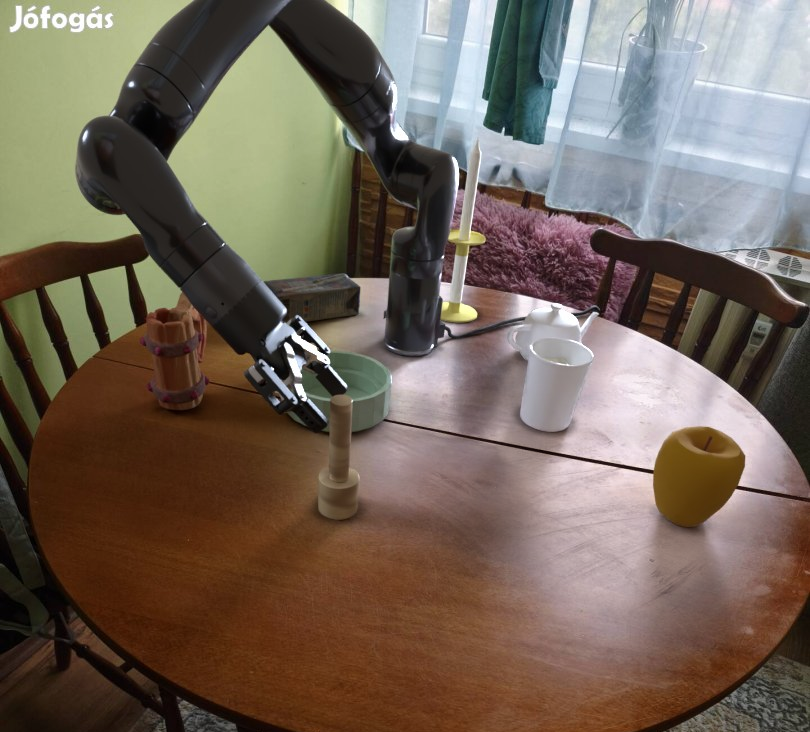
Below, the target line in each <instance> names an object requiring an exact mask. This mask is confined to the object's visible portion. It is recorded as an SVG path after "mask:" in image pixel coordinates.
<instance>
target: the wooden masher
mask: <svg viewBox="0 0 810 732" xmlns="http://www.w3.org/2000/svg"><path fill="white" fill-rule="evenodd" d="M352 402H353V401H352V399H351V398H350V397H349V396H346V395H335V396H333V397H332V398H331V399H330V432H329V439H328V440H329V442H328V443H329V445H328V466H326V467H323V468H322V469H321V470H320V471H319V473H318V476H317V477H318V478H317V480H318V481H317V482H318V483H317V509H318V511H319V513H320V514H321V515H322V516H324V517H325V518H327V519H331V520H337V521H338V520H340V521H342V520H347V519H349V518H352V517H354V516H355V515H356V513H357V511H358V508H359V491H360V490H359V489H360V488H359V487H360V475H359V473H358V472H357V470H355V469H354V468H352V467H350V466H351V445H352V432H351V424H352Z"/></svg>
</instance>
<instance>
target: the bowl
mask: <svg viewBox="0 0 810 732" xmlns="http://www.w3.org/2000/svg"><path fill="white" fill-rule="evenodd" d="M327 357H328V359H329V361H330V363H329V365H330V366H331V368H332V369H333V370H334V371H335V372H336V373H337V375H338V376H339V377H340V378H341V379H342V380H343V381H344V383H345V384H346V385H347V386H348V390H347V391H346V393H345V394H343V395H346V396H349V397H350V398H351V399H352V401H353V402H352V424H351V433H354V432H360V431H364V430H367V429H371V428H374V427H375V426H377V425H378V424H380V423H381V422H383V421H384V420H385V419H386V418H387V416H388V415H389V414H390V413H389V412H390V403H391V391H392V377H393V376H392V374H391V372H390V370H389V368H388V367H387V366H386V365H384V364H383V363H381V362H380V361H379V360H377V359H375V358H372V357H370V356H368V355H365V354H361V353H357V352H353V351H347V350H337V349H336V350H334V349H333V350H330V354H328V355H327ZM311 363H312V362H311ZM300 374H301V376H302V381H301V386H302V388H303V391H304V393H305V395H306V399H308V398H309V399H310V401H311V402H312V403H313V404H314V405H315V406H316V407H317V408H318V409H319V410H320V411H321V413H322V414H323V415H324V416H325V417H326V418H327V419H328V421H329V423H328V425H327V427H326V428H325V429H323V430H322V431H321V432H326V433H330V399H331V398H332V395H331V394H330V393H329V392H328V391H327V390H326V389H325V388H324V386H323V385H322V384H321V383H320V382H319V381H318V380H317V379H316V375H317V373H316V374H312V373H310V372H308V371H306V370H301V371H300ZM283 381H284V380H282V382H283ZM290 392H291V393H292V394H293V395H294V391H293V389H291V390H290ZM286 414H287V415H289V417H290V418H292V419H293V421H295V422H297V423H299V424H301V425H303V426H305V427H307V426H306V425H305V424H304V422H302V421H301V419H300V418H299V417H298V416H297V415H296V414H295V413H294V412H292V411H291V412H289V411H288V412H286Z"/></svg>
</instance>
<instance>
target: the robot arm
mask: <svg viewBox="0 0 810 732" xmlns="http://www.w3.org/2000/svg"><path fill="white" fill-rule="evenodd" d="M268 27H269V28H270V29H271V30H272V32H274V34H275V35H276V36H277V37H278V38H279V39H280V41H281V42H282V43H283V45H284V46H285V47H286V49H287V50H288V51H289V53H290V54H291V55H292V57H293V58H294V59H295V61H296V62H297V63H298V65H299V66H300V67H301V68H302V70H303V71H304V72H305V74H306V75H307V76H308V77H309V79H310V80H311V82H312V83H313V84H314V86H315V87H316V89H317V90H318V92H319V93H320V95H321V96H322V98H323V99H324V101H325V102H326V103H327V105H328V106H329V107H330V109H331V110H332V112H333V113H334V114H335V116H336V117H337V118H338V119H339V121H340V122H341V123H342V124H343V125H344V127H345V128H346V129H347V131H348V132H349V134H350V135H351V136H352V137H353V139H354V140H355V142H356V143H357V145H358V146H359V147H360V148H361V149H362V151H363V152H364V153H365V156H367V158H368V160H369V161H370V163H371V165H372V166H373V168H374V170H375V172H376V174H377V176H378V178H379V179H380V182H381V183H382V185H383V187H384V188H385V190H386V192H387V193H388V195H389V196H390V198H391V199H392V200H393V201H395V202H396V203H397V204H399V205H401V206H403V207H407V208H410V209H412V210H415V211H417V215H416V220H415V224H414V225H413V226H405V227H401V228H399V229H397V230H395V231H394V232H393V234H392V236H391V245H390V257H389V258H390V260H389V275H388V287H387V300H386V301H387V302H386V309H385V310H383V320H385V326H384V337H383V346H384V348H386V349H387V350H388V351H390V352H392V353H394V354H397V355H401V356H405V357H420V356H421V357H422V356H425V355H428V354H430V353H431V352H432V351H433V350H434V349H435V348H438V343H439V339H441V338H444V337H445V332H447V336H448V337H449V338H451V339H461V338H467V337H470V336H473V335H476V334H478V333H483V332H486V331H489V330H491V329H494V328H497V327H500V326H504V325H507V324H513V323H517V322H523V321H524V320H525V318H526V317H527V316H528V315H526V316H521V317H516V318H510V319H506V320H501V321H498V322H494V323H492V324H489V325H486V326H482V327H479V328H476V329H473V330H470V331H468V332H465V333H463V334H453V333H452V329H451V328H450V327H449V326H448V325H446V323H445V322H443V321H442V320H441V312H442V304H443V302H444V299H443V297H442V296H441V295H440V292H441V284H442V274H443V266H444V257H445V251H446V247H447V243H448V242H449V241H448V238H449V235H450V231H451V229H452V225H453V219H454V214H455V207H456V203H457V197H458V190H459V183H460V170H459V164H458V161H457V159H456V157H455V156H454V155H453V154H452V153H450V152H447V151H444V150H440V149H437V148H434V147H431V146H426V145H422V144H419V143H418V142H415V141H414V140H412V139H411V138H410V136H409V135H408V134H407V133H406V132H405V130H404V129H403V128H402V125H401V124H400V122H398V119H397V117H396V116H397V113H398V112H397V111H398V103H399V101H398V100H399V96H398V87H397V83H396V79H395V78H394V75H393V73H392V70H391V69H390V67H389V65H388V63H387V62H386V61H385V59H384V57H383V55H382V54H381V52H380V50H379V48H378V46H377V45H376V44H375V42H374V41H373V40H372V38H371V37H370V36H369V35H368V34H367V32H365V30H364V29H362V28H361V27H360V26H359V25H358V24H357V23H355V21H353V20H352V19H350V18H349V16H347V15H346V14H344V13H343V12H341V10H339V9H338V8H337V7H335V6H333V4H331V3H330V2H328V0H192V1H191V2H189V3H188V4H187V5H186V6H184V7H183V8H182V9H181V10H179V11H178V12H176V14H174V15H173V16H172V17H171V18H170V19H169V20H167V21H166V23H164V24H163V25H162V26H161V27H160V28H159V29H158V30H157V32H156V33H155V34H154V35H153V37H152V38H151V39H150V41H149V42H148V44H147V45H146V47H145V48H144V49H143V51H142V53H141V54H139V56H138V58H137V59H136V61H135V62H134V64H133V66H132V67H131V68H130V70H129V71H128V73H127V75H126V77H125V78H124V81H123V83H122V84H121V88H120V91H119V94H118V98H117V100H116V102H115V105H114V106H113V108H112V110H111V111H110V112H109V114H108V115H100V116H96V117H94V118H92V119H90V120H89V121H88V122H86V124H85V125H84V127H83V128H82V130H81V132H80V134H79V136H78V141H77V147H76V157H75V164H74V165H75V167H74V171H75V172H74V174H75V179H76V183H77V186H78V189H79V191H80V193H81V194H82V196H83V197H84V199H85V200H86V201H87V202H88V204H90V206H92V207H93V208H94V209H95V210H97V211H100V212H101V213H104V214H107V215H111V216H123V215H125V216H126V218H128V220H129V221H130V222H131V223H132V225H134V227H135V228H136V229H137V231H138V232H139V233H140V235H141V239H142V243H143V246H144V248H145V251H146V252H147V254H148V255H149V257H150V258H151V259H152V260H153V262H154V263H155V264H156V265H157V266H158V267H159V268H160V270H161V271H162V272H163V273H164V274H165V275H166V276H167V277H168V278H169V280H171V282H172V283H174V285H175V286H176V287H177V288H179V290H180V291H181V293H182V292H183V293H184V295H185V296H186V297H187V299H188V300H189V302H190V303H191V304H192V306H193V307H194V308H195V309H196V310H197V311H198V313H199V314H200V315H201V316H202V317H203V318H204V319H205V320H206V321H207V324H209V326H210V327H211V328H212V329H213V330H214V332H216V333H217V334H218V336H220V338H222V340H223V341H224V342H225V343H226V344H227V345H228V346H229V347H230V348H231V350H233V352H235V354H237V355H239V356H243V355H245V354H249V355H250V356H251V358H252V360H253V361H254V363H253V364H252V365H251V366H250V367H248V368H247V369H246V370H245V371H243V376H244V378H245V379H246V380H247V381H248V382H249V384H251V386H252V387H253V388H254V389H255V390H256V392H257V393H258V394H259V395H260V396H261V397H262V399H264V400H265V402H266V403H267V404H268V405H269V406H270V407H271V408H272V409H273V411H274V412H275V413H276V414H277V415H278V416H282V415H284V414H287V412H288V411H289V412H291V411H292V412H294V413H295V414H296V415H297V416H298V417H299V418H300V419H301V421H302V422H304V424H305V425H306V426H305V425H304V426H305V427H307V429H308V430H309V431H311V432H312V433H314V434H319V433H321V432H323V431H322V430H323V429H325V428H326V427H327V425H328V423H329V421H328V419H327V418H326V417H325V416H324V415H323V414H322V413H321V411H320V410H319V409H318V408H317V407H316V406H315V405H314V404H313V403H312V402H311V401H310V399H309V398H308V399H306V395H305V393H304V391H303V388H302V386H301V381H302V376H301V374H300V371H301V370H306V371H308V372H310V373H312V374H316V373H317V375H316V379H317V380H318V381H319V382H320V383H321V384H322V385H323V386H324V388H325V389H326V390H327V391H328V392H329V393H330V394H331V395H332V397H333V396H335V395H343V394H345V393H346V391H347V390H348V386H347V385H346V384H345V383H344V381H343V380H342V379H341V378H340V377H339V376H338V375H337V373H336V372H335V371H334V370H333V369H332V368H331V366H330V365H329V363H330V361H329V359H328V357H327V355H328V354H330V351H331V349H330V348H329V346H328V345H327V344H326V343H325V342H324V341H323V339H321V338H320V336H319V335H317V333H316V332H315V331H314V330H313V329H312V328H311V327H310V325H308V323H307V322H305V321H304V320H303V319H302V318H301V317H300V316H299V315H296V316H294V317H293V318H292V319H290V320H289V321H288V322H287V323H285V322H284V321H283V318H284V317H285V316H286V314H287V309H286V307H285V306H284V305H283V304H282V303H281V302H280V300H279V299H278V298H277V297H276V296H275V295H274V294H273V292H272V291H271V290H270V289H269V288H268V287H267V286H266V284H265V283H264V280H263V279H262V278H261V277H260V276H259V275H258V274H257V272H255V270H254V269H253V268H252V267H251V265H250V264H248V263H247V261H246V260H245V259H244V258H243V257H242V256H241V255H240V254H239V253H237V252H236V251H235V250H234V249H233V248H232V247H231V246H230V245H229V244H227V242H226V241H225V240H224V238H223V237H222V236H221V235H220V234H219V233H218V231H217V230H216V229H215V228H214V227H213V225H211V224H210V223H209V221H208V220H207V219H206V218H205V217H204V215H202V214H201V213H200V212H199V210H198V209H197V208H196V206H195V205H194V203H193V202H192V200H191V199H190V196H189V195H188V193H187V191H186V189H185V188H184V186H183V185H182V183H181V182H180V180H179V179H178V177H177V174H175V172H174V170H173V169H172V168H171V166H170V164H169V163H168V160H169V159H170V156H171V155H172V153H173V151H174V149H175V148H176V146H177V145H178V143H179V142H180V141H181V139H182V138H183V137H184V136H185V135H186V133H187V132H188V131H189V130H190V128H191V127H192V125H193V124H194V122H195V121H196V119H197V118H198V117H199V115H200V114H201V112H202V110H203V109H204V107H205V106H206V105H207V103H208V101H209V100H210V98H211V97H212V95H213V93H214V92H215V90H216V89H217V87H218V86H219V84H220V83H221V81H222V80H223V79H224V78H225V76H226V75H227V73H228V72H229V71H230V70H231V68H233V66H234V64H235V63H236V62H237V61H238V59H240V57H241V56H242V55H243V54H244V53H245V51H246V50H247V49H248V48H249V47H250V46H251V45H252V43H253V42H254V41H255V40H257V38H258V37H259V36H260V35H261V34H262V33H263V31H265V30H266V28H268ZM593 310H595V312H600V311H601V309H600V308H599V306H597V305H592V306H589V308H587V309H585V310H583V311H577V312H569V313H570V314H572V315H574V316H575V317H579V316H584V315H587V314H589V313H590V312H592V311H593ZM311 362H312V363H311ZM283 380H284V381H283ZM291 389H293V391H294V395H293V394H292V393H291V392H290V390H291ZM274 393H275V394H278V396H279V397H280V400H281V401H280V400H278V398H277V397H276V396H275V395H274Z"/></svg>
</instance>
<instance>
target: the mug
mask: <svg viewBox="0 0 810 732" xmlns="http://www.w3.org/2000/svg"><path fill="white" fill-rule="evenodd" d="M145 320H146V327H147V328H146V329H147V331H146V332H145V333H144V335H143V336H142V337H141V338H140V339H139V344H140V345H142V346H144V347H145V348H146V349H147V350H148V352H150V355H151V356H150V357H151V361H152V366H153V372H154V375H153V376H152V378H151V380H150V382H148V383H147V384H146V385H145V388H146V389H147V391H149V392H150V393H153V395H154V396H155V398H156V399H157V400H158V404H159V405H160V406H161V407H162V408H164V409H167V410H171V411H187V410H191V409H194V408H196V407H197V406H198V405H200V404H201V402H202V400H203V397H204V396H203V395H204V392H205V391H206V387H207V385H209V383H210V378H209V377H208V376H206V375H205V374H204V372H203V371H202V370H201V369H200V365H199V364H202V363H203V362H204V355H205V351H206V345H207V334H208V333H207V332H208V331H207V329H208V322H207V321H206V320H205V319H204V318H203V317H202V316H201V315H200V314H199V313H198V311H197V310H196V309H195V308H194V307H193V306H192V304H191V303H190V302H189V300H188V299H187V297H186V296H185V295H184V293H183V292H182V291H181V293H180V294H179V297H178V300H177V302H176V305H175V307H172V308H170V309H168V307H160V308H157V309H155V310H154V312H152V311H149V313H147V315H146V317H145Z"/></svg>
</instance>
